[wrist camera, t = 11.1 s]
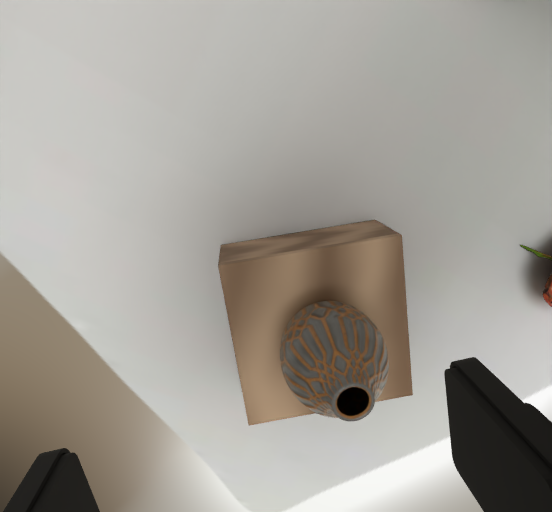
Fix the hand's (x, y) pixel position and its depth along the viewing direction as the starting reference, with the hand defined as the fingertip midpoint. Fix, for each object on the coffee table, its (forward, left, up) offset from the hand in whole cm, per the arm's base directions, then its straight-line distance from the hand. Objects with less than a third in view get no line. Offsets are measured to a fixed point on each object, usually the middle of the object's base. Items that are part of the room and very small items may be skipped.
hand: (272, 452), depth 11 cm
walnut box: (-4, +7, -26) cm, 27 cm away
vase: (-4, +7, -20) cm, 21 cm away
